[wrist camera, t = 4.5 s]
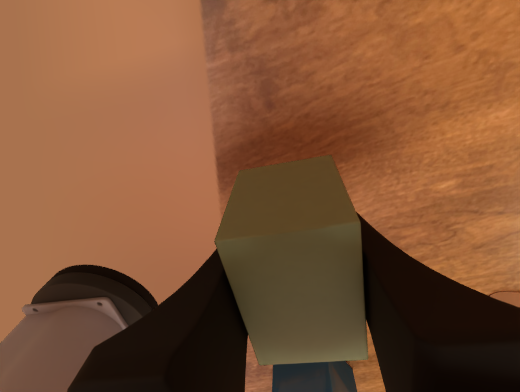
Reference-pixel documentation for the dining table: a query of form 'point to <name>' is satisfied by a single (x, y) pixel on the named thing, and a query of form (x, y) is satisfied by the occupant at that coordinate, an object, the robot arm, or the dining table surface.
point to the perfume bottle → (313, 377)
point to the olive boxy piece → (296, 262)
